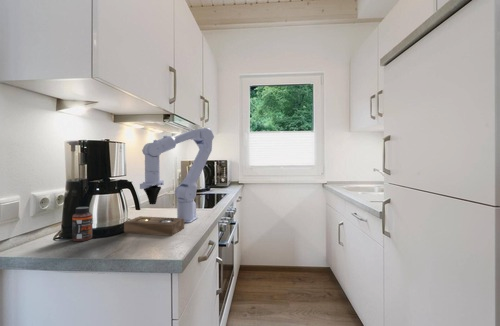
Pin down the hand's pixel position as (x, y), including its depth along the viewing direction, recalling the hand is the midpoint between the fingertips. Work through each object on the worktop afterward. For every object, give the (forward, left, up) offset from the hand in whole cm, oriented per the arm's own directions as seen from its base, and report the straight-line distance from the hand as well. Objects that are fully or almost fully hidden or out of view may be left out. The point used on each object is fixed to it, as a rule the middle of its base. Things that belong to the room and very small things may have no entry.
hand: (152, 204), depth 108 cm
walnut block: (+5, +4, -9) cm, 11 cm away
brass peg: (+5, -1, -10) cm, 11 cm away
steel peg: (+5, +9, -10) cm, 14 cm away
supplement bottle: (+20, -15, -10) cm, 27 cm away
